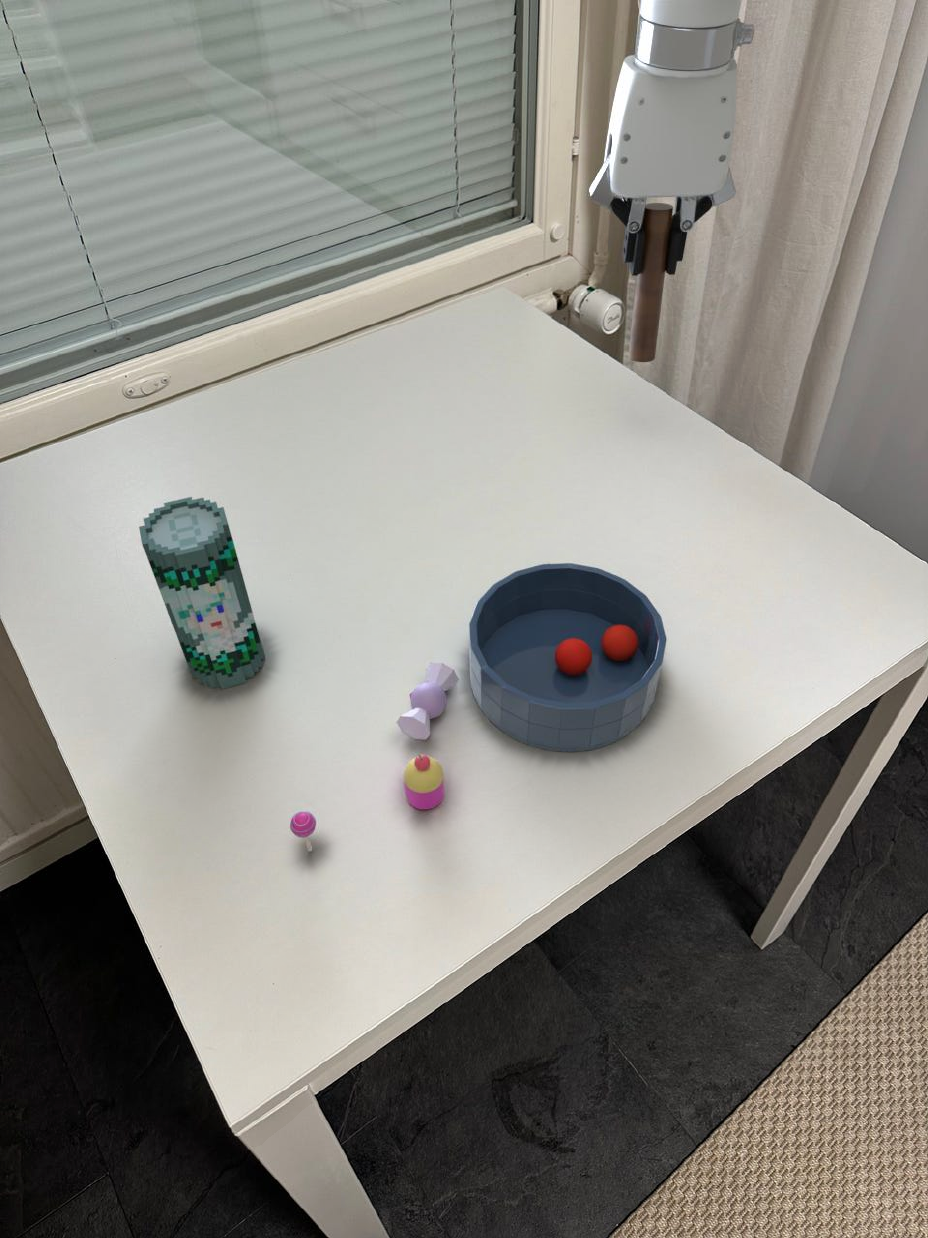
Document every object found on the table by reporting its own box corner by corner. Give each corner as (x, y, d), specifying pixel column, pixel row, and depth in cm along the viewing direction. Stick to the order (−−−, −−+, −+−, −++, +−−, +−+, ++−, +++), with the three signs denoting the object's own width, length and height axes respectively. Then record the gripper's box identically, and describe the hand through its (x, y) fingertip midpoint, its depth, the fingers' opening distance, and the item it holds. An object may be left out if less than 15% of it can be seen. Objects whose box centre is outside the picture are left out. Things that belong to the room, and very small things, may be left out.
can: (196, 696, 73) (145, 563, 61) (185, 643, 76) (135, 509, 65) (270, 675, 74) (233, 541, 63) (256, 625, 78) (218, 490, 67)
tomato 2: (592, 631, 74) (623, 613, 74) (610, 659, 75) (641, 641, 75) (597, 643, 72) (630, 624, 71) (616, 672, 72) (648, 654, 72)
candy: (401, 672, 74) (396, 622, 69) (492, 700, 72) (492, 651, 67) (293, 856, 63) (278, 811, 58) (395, 896, 61) (389, 853, 56)
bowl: (638, 605, 79) (646, 560, 75) (671, 748, 68) (683, 704, 64) (466, 611, 79) (466, 566, 75) (474, 755, 68) (473, 712, 64)
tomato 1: (550, 679, 72) (583, 684, 73) (567, 660, 70) (601, 665, 71) (546, 647, 74) (578, 653, 75) (562, 628, 71) (595, 634, 72)
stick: (654, 353, 89) (672, 202, 81) (655, 362, 87) (673, 210, 79) (628, 351, 90) (643, 202, 81) (628, 361, 88) (643, 209, 79)
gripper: (773, 26, 73) (726, 248, 86) (576, 30, 72) (560, 252, 86) (800, 55, 68) (746, 285, 81) (588, 59, 67) (569, 290, 81)
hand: (650, 266), depth 84 cm, fingers closed on stick, 2 cm apart
